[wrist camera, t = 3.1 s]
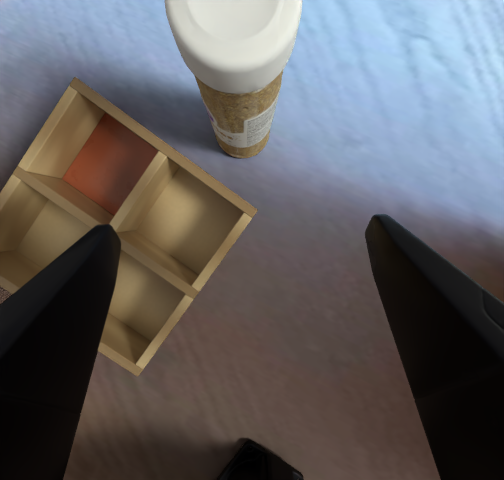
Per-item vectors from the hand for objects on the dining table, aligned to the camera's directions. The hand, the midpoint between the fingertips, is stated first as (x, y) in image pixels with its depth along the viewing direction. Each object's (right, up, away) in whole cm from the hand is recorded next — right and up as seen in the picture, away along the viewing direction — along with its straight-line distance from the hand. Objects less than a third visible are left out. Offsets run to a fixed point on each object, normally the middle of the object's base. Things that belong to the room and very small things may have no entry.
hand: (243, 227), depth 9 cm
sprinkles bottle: (0, +9, +13) cm, 15 cm away
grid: (-10, 0, +13) cm, 16 cm away
